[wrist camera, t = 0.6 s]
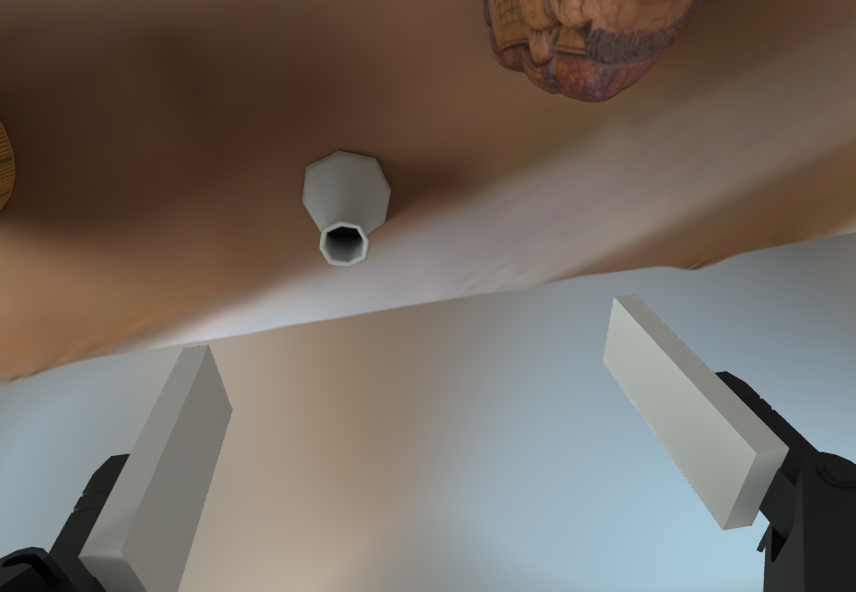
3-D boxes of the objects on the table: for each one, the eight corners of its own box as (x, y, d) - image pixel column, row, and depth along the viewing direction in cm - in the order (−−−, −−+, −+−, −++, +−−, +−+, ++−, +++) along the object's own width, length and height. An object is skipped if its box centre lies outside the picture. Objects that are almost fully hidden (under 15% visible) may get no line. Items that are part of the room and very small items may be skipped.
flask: (385, 144, 37) (394, 182, 29) (396, 229, 41) (407, 286, 33) (291, 155, 37) (272, 198, 28) (311, 241, 41) (300, 301, 32)
